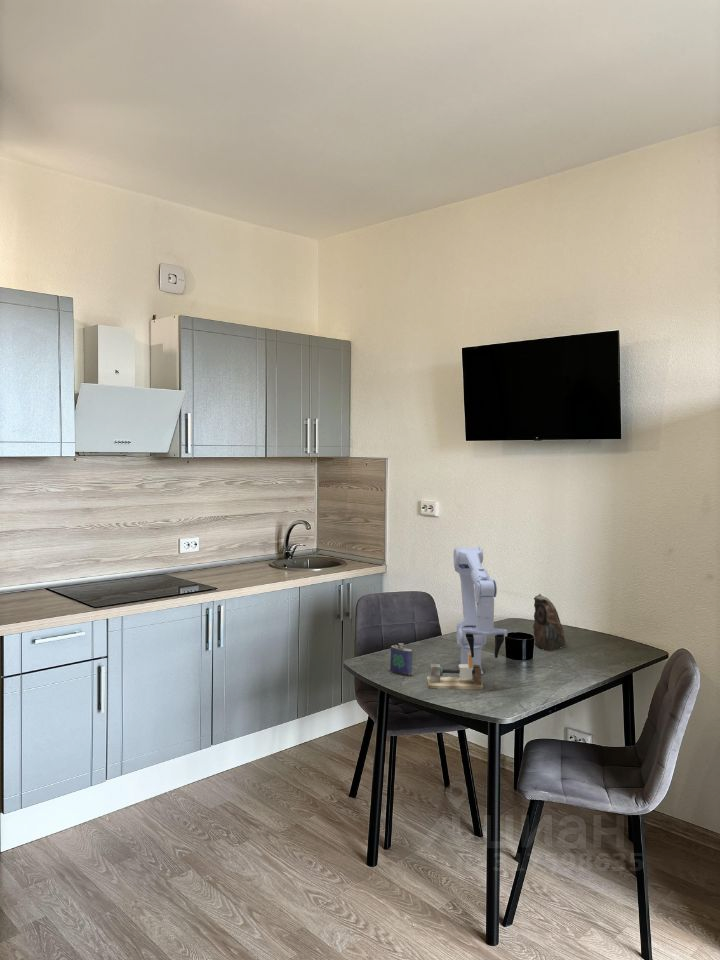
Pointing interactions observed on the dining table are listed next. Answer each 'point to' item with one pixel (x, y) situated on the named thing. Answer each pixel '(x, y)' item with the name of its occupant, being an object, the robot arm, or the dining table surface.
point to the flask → (401, 660)
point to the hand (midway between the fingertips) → (484, 656)
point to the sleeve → (466, 669)
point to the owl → (547, 625)
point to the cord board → (454, 679)
